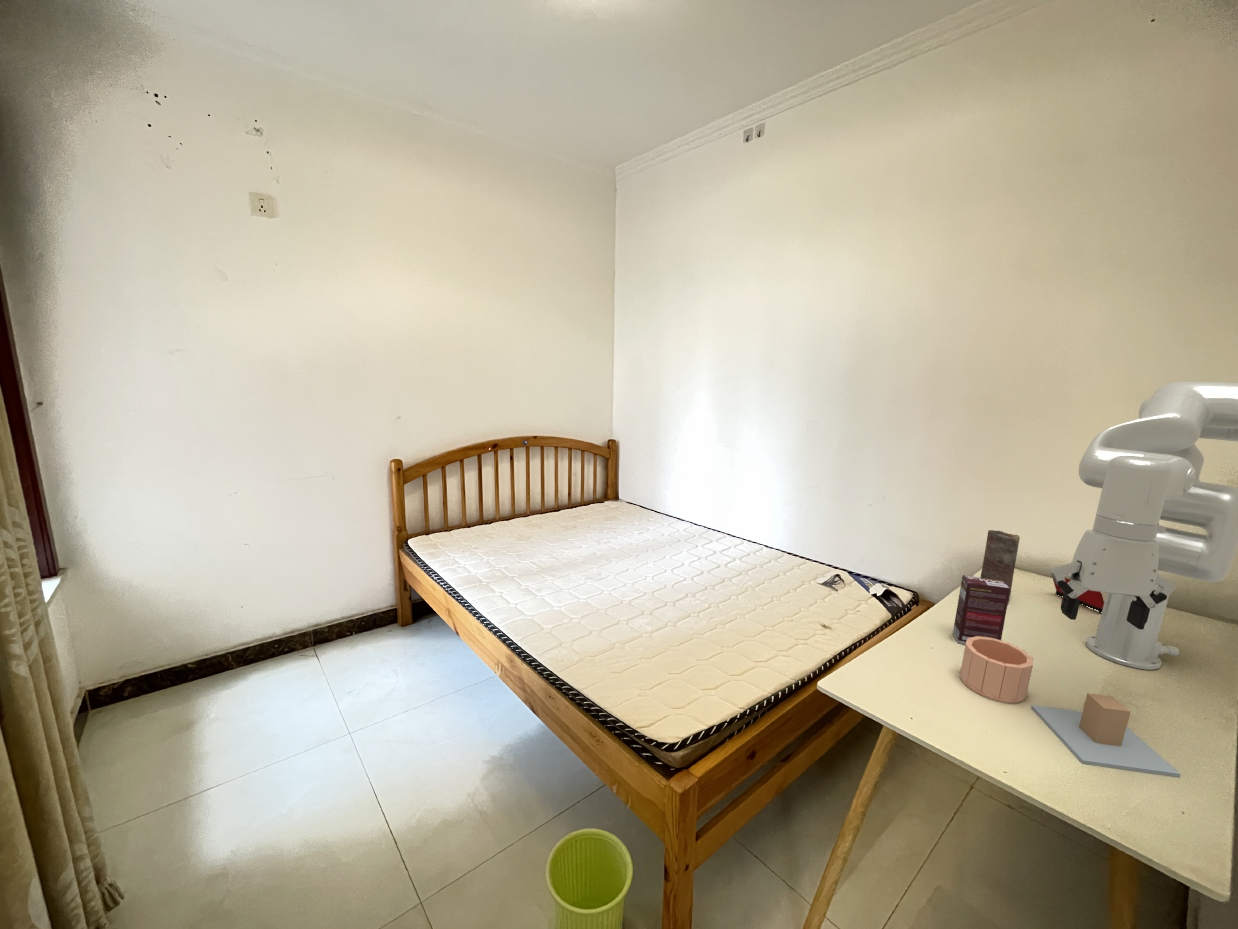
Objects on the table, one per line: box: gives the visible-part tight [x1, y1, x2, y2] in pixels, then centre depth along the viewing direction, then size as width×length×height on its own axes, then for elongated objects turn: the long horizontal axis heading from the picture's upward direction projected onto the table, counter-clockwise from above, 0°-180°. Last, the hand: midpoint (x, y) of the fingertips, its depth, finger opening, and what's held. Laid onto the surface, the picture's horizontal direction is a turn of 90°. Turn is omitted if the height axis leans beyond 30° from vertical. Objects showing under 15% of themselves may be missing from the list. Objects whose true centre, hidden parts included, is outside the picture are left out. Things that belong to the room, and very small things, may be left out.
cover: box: [1030, 692, 1181, 779], centre depth 89 cm, size 14×14×8 cm
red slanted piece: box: [1051, 575, 1105, 612], centre depth 141 cm, size 12×11×7 cm
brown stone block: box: [980, 529, 1021, 602], centre depth 142 cm, size 8×7×20 cm
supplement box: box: [952, 574, 1011, 646], centre depth 119 cm, size 9×5×16 cm, turn 71°
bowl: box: [959, 636, 1034, 705], centre depth 103 cm, size 11×11×8 cm
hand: (1100, 620), depth 88 cm, fingers open, 9 cm apart
